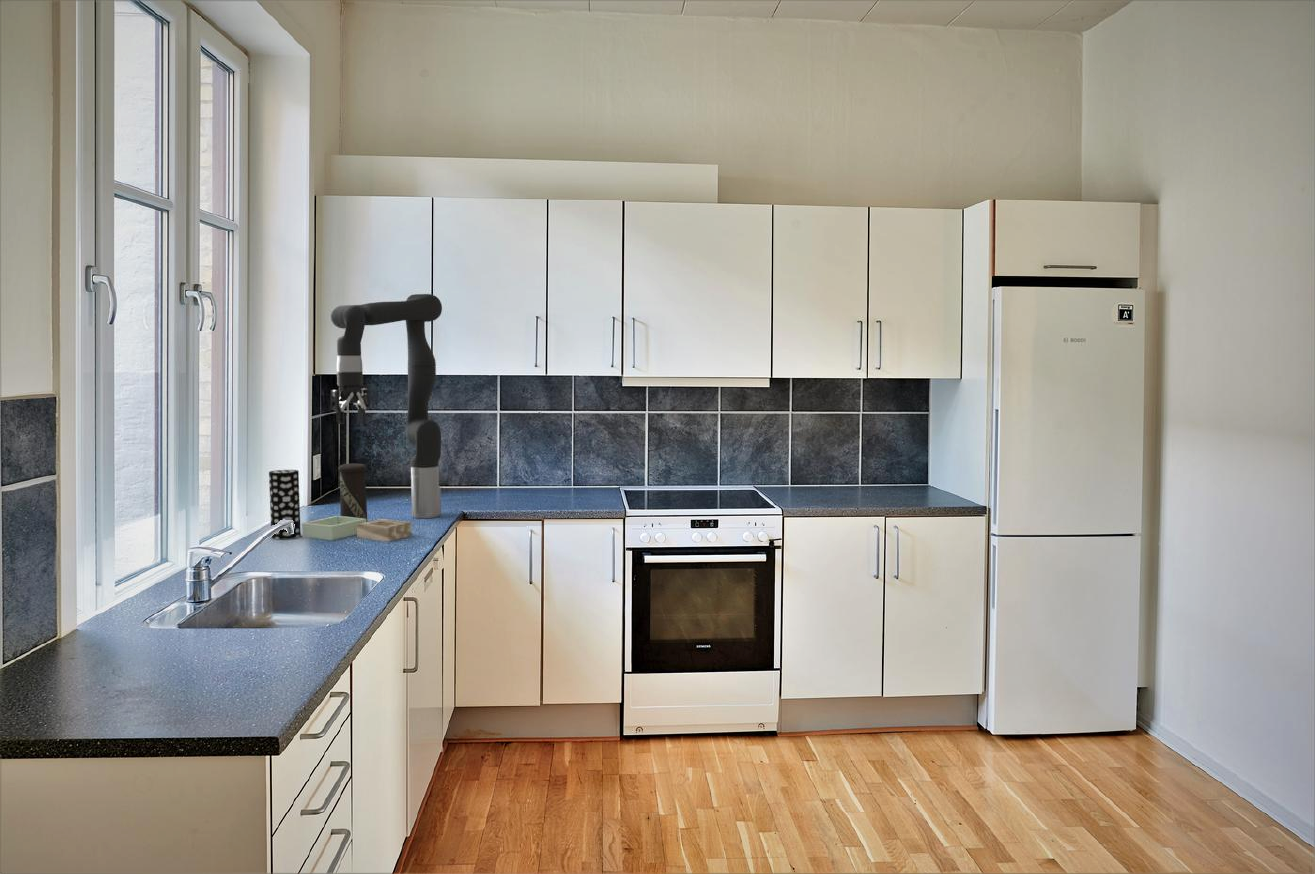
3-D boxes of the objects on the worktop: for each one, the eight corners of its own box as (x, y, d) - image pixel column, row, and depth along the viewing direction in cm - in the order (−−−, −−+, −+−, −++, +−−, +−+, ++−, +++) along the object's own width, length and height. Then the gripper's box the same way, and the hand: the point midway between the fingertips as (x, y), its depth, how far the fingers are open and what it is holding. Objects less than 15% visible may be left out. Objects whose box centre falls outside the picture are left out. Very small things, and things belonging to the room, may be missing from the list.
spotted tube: (306, 534, 282) (304, 470, 280) (288, 540, 274) (286, 473, 272) (283, 533, 284) (281, 469, 282) (265, 538, 276) (262, 472, 275)
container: (334, 526, 296) (332, 464, 294) (350, 521, 304) (348, 461, 302) (358, 527, 294) (356, 465, 292) (373, 522, 302) (371, 462, 300)
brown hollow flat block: (381, 534, 282) (380, 517, 282) (411, 538, 277) (411, 521, 276) (357, 540, 273) (356, 523, 273) (388, 544, 268) (387, 526, 267)
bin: (337, 531, 287) (337, 515, 287) (366, 534, 282) (366, 518, 282) (302, 539, 275) (302, 523, 274) (332, 543, 270) (331, 526, 269)
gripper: (357, 370, 292) (359, 420, 293) (323, 370, 279) (324, 424, 280) (375, 370, 288) (376, 421, 290) (341, 371, 275) (343, 424, 277)
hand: (351, 422), depth 285 cm, fingers open, 8 cm apart
